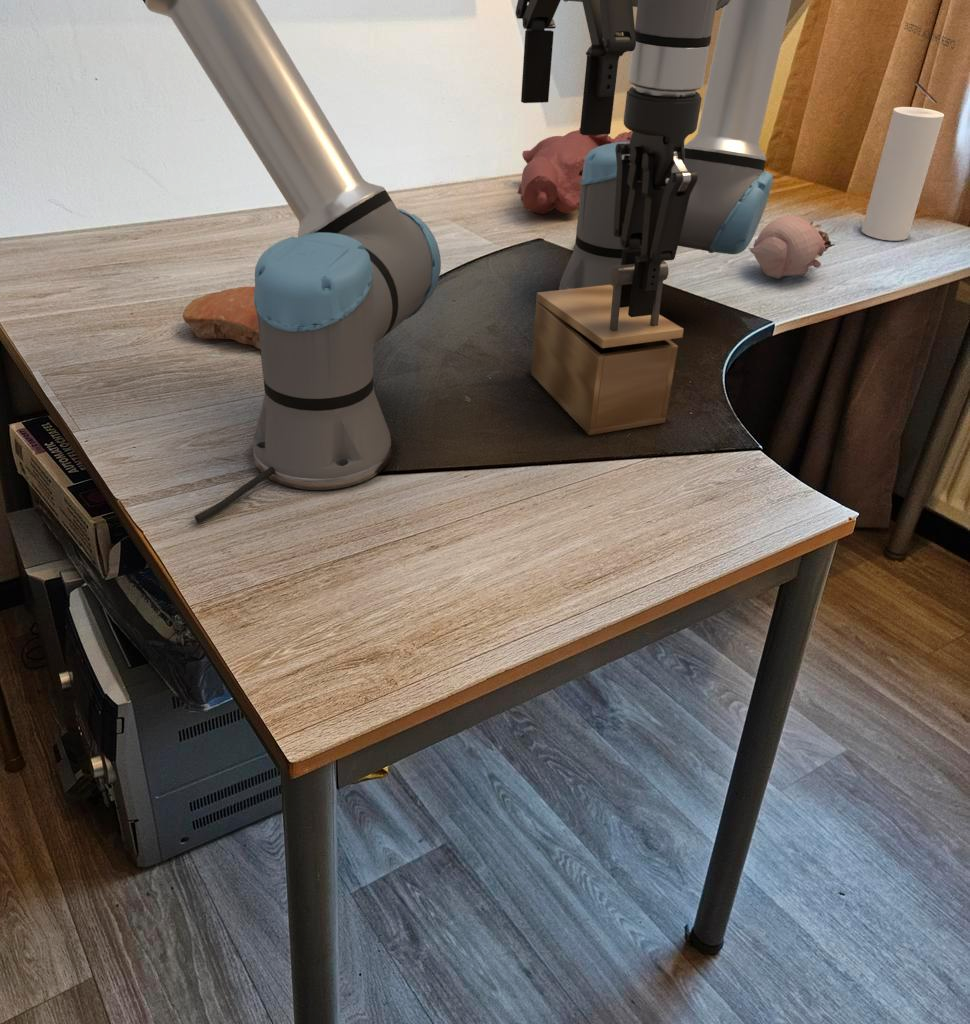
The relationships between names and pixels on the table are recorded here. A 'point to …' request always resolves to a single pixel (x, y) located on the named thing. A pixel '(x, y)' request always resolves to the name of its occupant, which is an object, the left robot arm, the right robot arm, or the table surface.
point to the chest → (602, 376)
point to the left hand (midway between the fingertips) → (563, 117)
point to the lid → (611, 311)
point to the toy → (790, 246)
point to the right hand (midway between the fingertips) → (634, 309)
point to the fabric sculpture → (559, 170)
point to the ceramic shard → (225, 316)
